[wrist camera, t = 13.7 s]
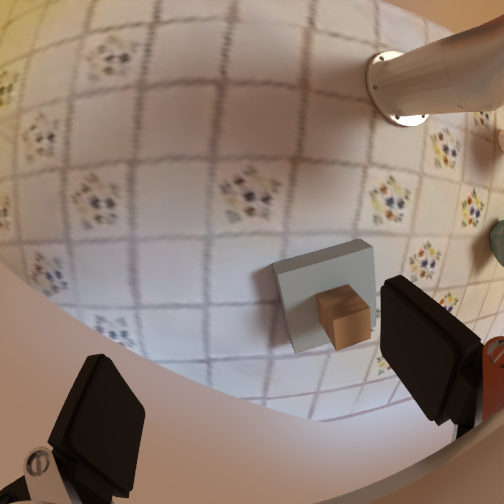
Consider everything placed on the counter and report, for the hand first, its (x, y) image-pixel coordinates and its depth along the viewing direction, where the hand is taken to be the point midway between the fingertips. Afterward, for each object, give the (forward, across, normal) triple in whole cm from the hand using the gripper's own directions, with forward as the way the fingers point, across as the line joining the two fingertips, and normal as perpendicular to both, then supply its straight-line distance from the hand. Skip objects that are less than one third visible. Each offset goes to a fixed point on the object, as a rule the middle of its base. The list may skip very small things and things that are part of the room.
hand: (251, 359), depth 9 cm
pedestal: (+30, -11, +17) cm, 36 cm away
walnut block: (+26, -11, +17) cm, 33 cm away
